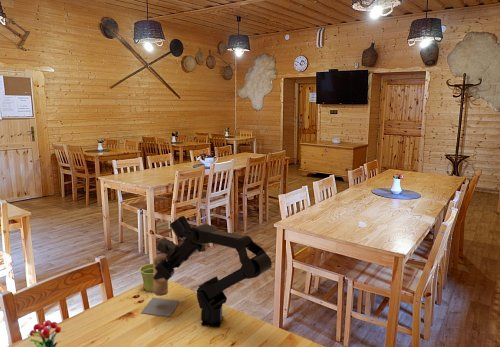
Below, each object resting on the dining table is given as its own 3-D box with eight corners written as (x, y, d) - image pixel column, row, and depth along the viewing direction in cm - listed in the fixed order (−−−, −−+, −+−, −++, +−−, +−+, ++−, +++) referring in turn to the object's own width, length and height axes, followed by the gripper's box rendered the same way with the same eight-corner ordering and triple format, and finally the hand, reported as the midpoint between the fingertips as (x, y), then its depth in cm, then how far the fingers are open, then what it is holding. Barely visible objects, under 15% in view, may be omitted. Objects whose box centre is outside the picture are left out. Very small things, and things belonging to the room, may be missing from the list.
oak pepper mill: (169, 289, 143) (169, 257, 141) (164, 296, 138) (164, 262, 136) (157, 288, 144) (156, 255, 141) (151, 295, 139) (151, 261, 136)
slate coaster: (180, 301, 147) (180, 300, 147) (169, 317, 136) (169, 316, 136) (152, 298, 148) (152, 297, 148) (140, 313, 138) (140, 312, 138)
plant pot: (158, 295, 151) (157, 274, 149) (135, 292, 152) (135, 271, 151) (167, 284, 160) (167, 264, 158) (146, 281, 162) (146, 262, 160)
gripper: (179, 224, 145) (152, 249, 149) (160, 242, 127) (130, 270, 131) (199, 246, 145) (171, 270, 149) (183, 266, 127) (152, 293, 131)
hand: (157, 275), depth 140 cm, fingers closed on oak pepper mill, 5 cm apart
